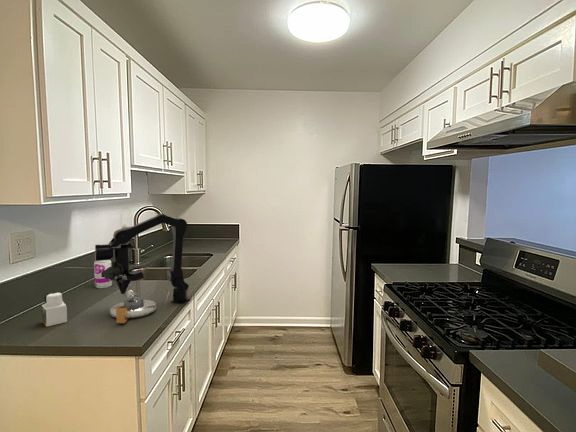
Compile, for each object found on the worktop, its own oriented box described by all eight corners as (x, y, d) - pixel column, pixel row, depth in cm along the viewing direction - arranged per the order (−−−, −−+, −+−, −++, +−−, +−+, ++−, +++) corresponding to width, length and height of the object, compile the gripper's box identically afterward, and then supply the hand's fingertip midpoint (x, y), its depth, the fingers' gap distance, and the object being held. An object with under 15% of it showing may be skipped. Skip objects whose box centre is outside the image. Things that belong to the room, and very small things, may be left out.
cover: (133, 302, 156) (133, 294, 156) (147, 304, 153) (147, 296, 153) (119, 308, 148) (119, 300, 148) (134, 310, 146) (133, 302, 145)
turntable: (120, 304, 160) (120, 291, 159) (160, 303, 161) (160, 290, 160) (96, 323, 137) (96, 308, 136) (144, 322, 138) (143, 307, 138)
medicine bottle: (42, 322, 140) (40, 292, 139) (63, 317, 145) (61, 289, 144) (46, 327, 135) (44, 296, 134) (67, 322, 140) (66, 292, 139)
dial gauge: (132, 301, 166) (132, 287, 166) (139, 302, 165) (138, 288, 164) (126, 303, 163) (126, 289, 162) (133, 304, 161) (132, 290, 161)
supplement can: (104, 289, 186) (103, 261, 185) (91, 288, 188) (90, 260, 187) (115, 285, 194) (114, 258, 193) (102, 284, 196) (101, 257, 195)
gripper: (89, 260, 147) (91, 296, 148) (123, 264, 141) (124, 302, 142) (111, 255, 157) (112, 289, 159) (144, 259, 151) (145, 294, 152)
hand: (123, 293), depth 153 cm, fingers closed
